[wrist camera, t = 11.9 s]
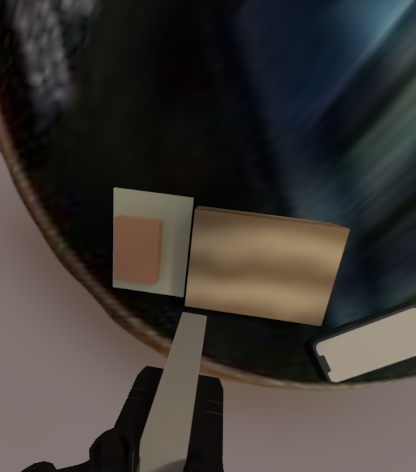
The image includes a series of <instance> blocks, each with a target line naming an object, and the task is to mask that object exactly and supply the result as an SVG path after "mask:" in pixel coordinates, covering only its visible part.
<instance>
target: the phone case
mask: <svg viewBox="0 0 416 472" xmlns="http://www.w3.org/2000/svg"><path fill="white" fill-rule="evenodd" d="M310 346H311V348H312V350H313V352H314V354H315V356H316V358H317V361H318V363H319V365H320V367H321V369H322V371H323V373H324V375H325V377H326V379H327V380H328V381H329V382H331V383H338V382H341V381H344V380H347V379H350V378H353V377H356V376H359V375H362V374H365V373H368V372H371V371H374V370H377V369H380V368H383V367H386V366H389V365H392V364H395V363H398V362H401V361H404V360H407V359H410V358H413V357H416V303H414V302H405V303H402V304H400V305H397V306H394V307H391V308H388V309H386V310H383V311H380V312H377V313H375V314H372V315H369V316H366V317H363V318H361V319H358V320H355V321H353V322H350V323H347V324H344V325H342V326H339V327H336V328H333V329H331V330H328V331H325V332H323V333H320V334H317V335H315V336H313V337H312V338H311V339H310Z"/></svg>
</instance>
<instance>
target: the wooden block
mask: <svg viewBox="0 0 416 472" xmlns="http://www.w3.org/2000/svg"><path fill="white" fill-rule="evenodd" d="M349 231H350V229H348V228H345V227H342V226H339V225H336V224H333V223H328V222H320V221H312V220H305V219H297V218H289V217H281V216H274V215H266V214H258V213H250V212H243V211H235V210H227V209H220V208H212V207H204V206H198V207H197V208H196V209H195V215H194V224H193V233H192V243H191V252H190V262H189V271H188V281H187V290H186V300H185V306H189V307H196V308H202V309H209V310H216V311H223V312H230V313H236V314H243V315H250V316H257V317H263V318H270V319H277V320H284V321H291V322H297V323H304V324H311V325H318V326H321V325H322V321H323V318H324V315H325V311H326V308H327V304H328V301H329V298H330V294H331V291H332V288H333V284H334V281H335V278H336V274H337V271H338V268H339V264H340V261H341V257H342V254H343V251H344V247H345V244H346V241H347V237H348V234H349Z"/></svg>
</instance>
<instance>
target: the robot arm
mask: <svg viewBox="0 0 416 472" xmlns="http://www.w3.org/2000/svg"><path fill="white" fill-rule="evenodd" d="M206 318H207V316H203V315H197V314H191V313H185V312H183V313H182V316H181V319H180V322H179V325H178V328H177V331H176V334H175V337H174V340H173V343H172V346H171V349H170V352H169V356H168V359H167V362H166V365H165V368H164V369H162V368H156V367H151V366H146V367H145V368H144V369H143V370H142V371H141V372H140V373H139V374H138V376H137V377H136V380H135V382H134V384H133V386H132V389H131V391H130V393H129V395H128V398H127V400H126V402H125V404H124V406H123V408H122V410H121V413H120V415H119V417H118V419H117V421H116V424H115V426H114V428H112V429H110V430H107V431H105V432H104V433H102V434H101V435H100V436H99V437H98V438H97V439H96V440H95V441H94V443H93V444H92V446H91V447H90V449H89V457H90V460H88V461H87V462H85V463H82V464H79V465H75V466H71V467H66V468H62V469H58V470H57V469H56V468H55V467H54V465H53V464H52V463H49V462H45V461H43V462H39V463H34V464H33V465H31V466H29V467H27V468H26V469H24V470H22V471H21V472H224V470H223V462H222V456H223V453H222V452H223V388H222V385H221V382H220V379H219V378H215V377H209V376H204V375H199V368H200V361H201V354H202V346H203V339H204V332H205V325H206Z"/></svg>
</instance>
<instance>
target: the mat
mask: <svg viewBox="0 0 416 472" xmlns="http://www.w3.org/2000/svg"><path fill="white" fill-rule="evenodd" d="M193 201H194V198H192V197H184V196H177V195H169V194H161V193H153V192H145V191H138V190H130V189H122V188H114V217H116V216H119V215H126V216H134V217H142V218H150V219H158V220H163V232H162V249H161V266H160V279H159V281H158V282H157V284H156V285H150V284H142V283H135V282H127V281H120V280H114V217H113V287H117V288H124V289H131V290H138V291H145V292H152V293H158V294H165V295H172V296H179V297H184V288H185V278H186V269H187V259H188V249H189V239H190V230H191V220H192V210H193Z"/></svg>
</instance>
